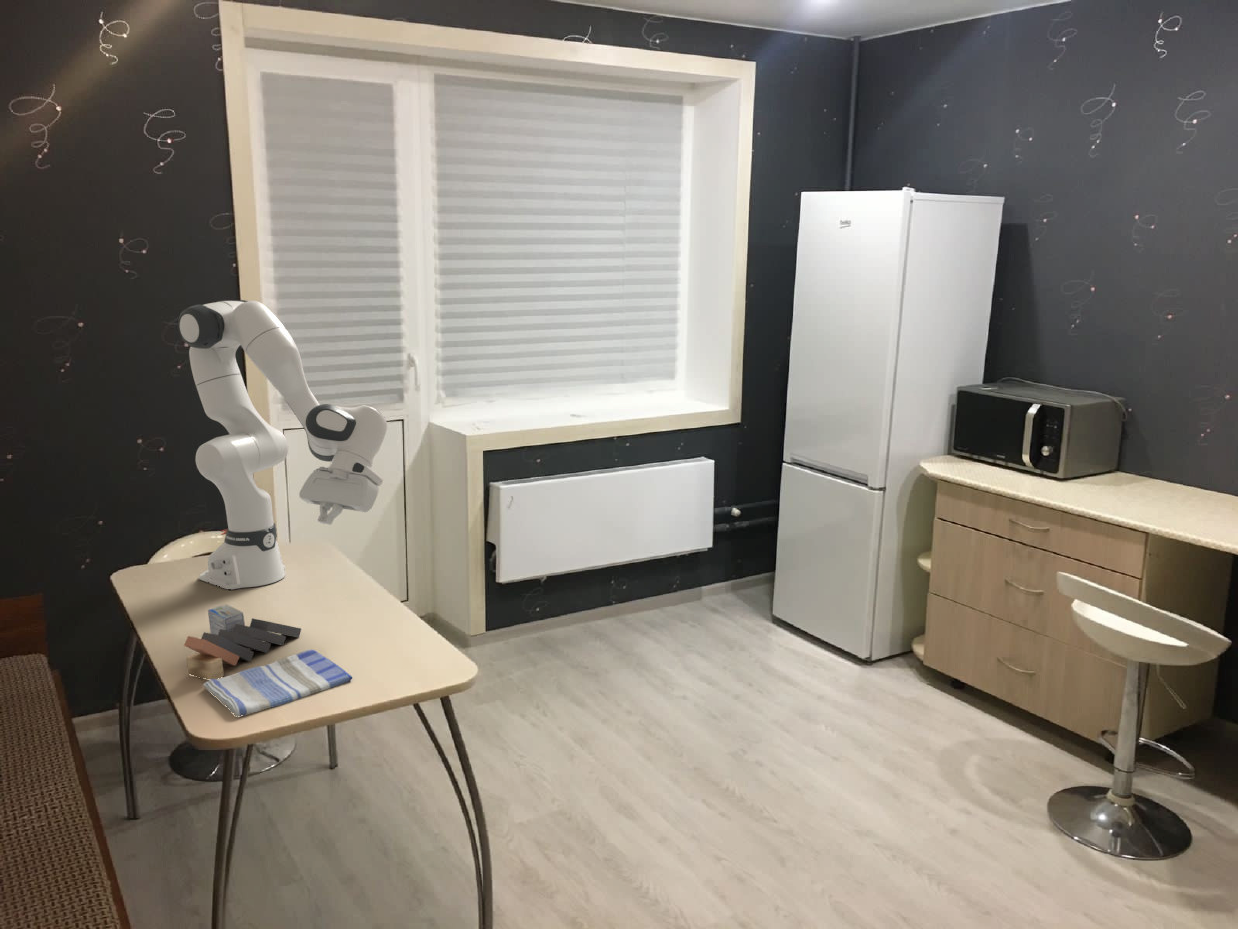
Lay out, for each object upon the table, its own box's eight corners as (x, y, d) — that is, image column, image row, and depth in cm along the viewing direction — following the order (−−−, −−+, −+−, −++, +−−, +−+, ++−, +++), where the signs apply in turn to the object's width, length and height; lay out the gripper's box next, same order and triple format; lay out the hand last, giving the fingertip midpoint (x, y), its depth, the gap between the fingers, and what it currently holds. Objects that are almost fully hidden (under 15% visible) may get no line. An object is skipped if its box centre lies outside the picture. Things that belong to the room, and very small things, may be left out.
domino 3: (250, 649, 207) (216, 638, 198) (253, 640, 207) (220, 629, 199) (267, 653, 205) (234, 642, 196) (270, 643, 205) (237, 632, 197)
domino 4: (266, 641, 211) (232, 633, 202) (268, 632, 211) (235, 623, 203) (283, 645, 208) (250, 637, 200) (285, 636, 209) (253, 627, 200)
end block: (189, 675, 194) (186, 657, 193) (199, 671, 196) (197, 652, 195) (213, 682, 191) (211, 663, 190) (223, 677, 193) (221, 658, 192)
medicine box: (248, 650, 206) (244, 612, 205) (228, 656, 203) (223, 618, 201) (231, 640, 212) (227, 603, 210) (211, 646, 209) (207, 609, 207)
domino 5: (282, 634, 215) (249, 627, 206) (284, 625, 215) (252, 618, 207) (299, 637, 213) (266, 631, 204) (301, 628, 213) (269, 621, 204)
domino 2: (232, 657, 203) (199, 641, 195) (236, 648, 203) (204, 632, 195) (250, 661, 200) (217, 645, 192) (254, 652, 201) (221, 636, 193)
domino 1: (218, 661, 199) (183, 645, 191) (222, 652, 200) (188, 636, 192) (235, 665, 197) (201, 649, 189) (239, 656, 198) (205, 640, 190)
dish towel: (201, 692, 188) (200, 678, 187) (317, 657, 203) (315, 645, 202) (233, 723, 175) (232, 709, 175) (354, 684, 190) (353, 671, 190)
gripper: (308, 459, 229) (283, 511, 224) (373, 468, 220) (348, 522, 214) (324, 472, 234) (300, 523, 229) (388, 481, 225) (364, 534, 219)
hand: (324, 522), depth 222 cm, fingers closed
